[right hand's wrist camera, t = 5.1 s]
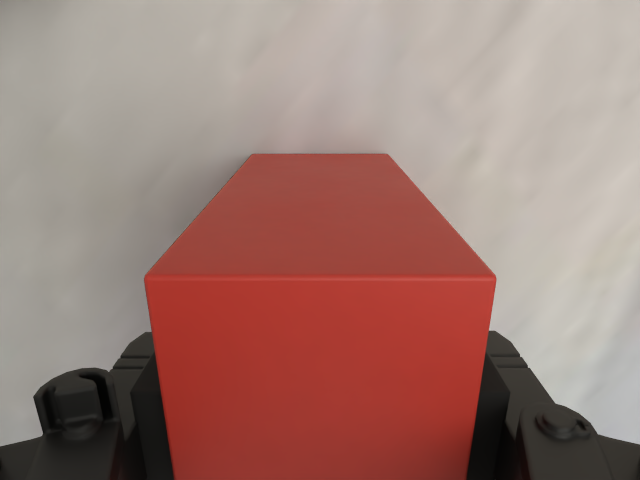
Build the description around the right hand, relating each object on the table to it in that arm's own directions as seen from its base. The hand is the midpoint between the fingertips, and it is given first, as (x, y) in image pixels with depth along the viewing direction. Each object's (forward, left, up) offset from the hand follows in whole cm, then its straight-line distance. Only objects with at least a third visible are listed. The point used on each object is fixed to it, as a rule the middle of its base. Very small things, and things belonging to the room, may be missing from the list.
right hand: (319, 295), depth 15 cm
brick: (0, 0, -5) cm, 5 cm away
